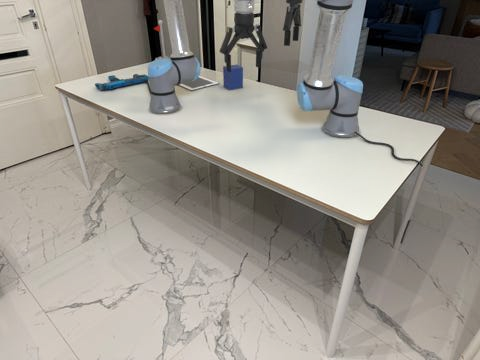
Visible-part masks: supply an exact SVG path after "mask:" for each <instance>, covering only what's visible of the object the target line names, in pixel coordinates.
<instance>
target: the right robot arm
mask: <svg viewBox="0 0 480 360" xmlns="http://www.w3.org/2000/svg"><path fill="white" fill-rule="evenodd" d="M285 3H286V4H289V6H286V12H285V16H284V18H285V19H284V22H283V27H282V31H284V35H283V36H284V38H283V46H286V47H290V46H291V37H292V41H293V42H299V36H300V35H299V34H300V27H302V18H301V4H303V0H285ZM353 3H354V0H316V6H317V7H318V8H319V15H318V21H317V25H316V31H315V37H314V42H313V47H312V53H311V58H310V64H309V69H308V72H307V73H306V74H305V75H304V76H303V80H302V81H300V82H298V83H297V85H296V99H297V102H298V106H299V108H300V109H301V111H303V112H317V111H319V112H320V111H329V112H328V115H327V117H326V120H325V121H324V123H323V126H322V130H323V132H324V133H325V134H326V135H329V136H332V137H335V138H339V139H341V138H342V139H349V138H354V137H356V136H358V137H360V138H361V139H362V140H364V141H365V142H367V143H369V144H373V145H381V146H387V147H388V148H390V149H391V155H392V157H393V158H394V159H396V160H399V161H405V162H406V161H407V162H408V161H409V162H415V163H416V164H418V165H419V166H420V167H424V164H422V162H421V161H420V160H418V159H415V158H403V157H399V156H397V155H395V154H396V153H395V149H394V147H393V145H391V144H390V143H385V142H380V141H379V142H378V141H373V140H369V139H367V138H365V137H364V136H363V135H362V134H360V133H359V132H360V125H359V118H358V117H359V116H358V114H359V111H360V110H359V109H360V105H361V100H362V95H363V90H364V83H363V81H362V80H360V79H359V78H356V77H353V76H349V75H340V74H339V75H336V76H335V77H334V78H333V77H332V72H333V68H334V63H335V59H336V56H337V50H338V47H339V43H340V37H341V34H342V30H343V25H344V22H345V17H346V14H347V12H348V11H350V10H351V9H352V7H353ZM293 25H294V26H293ZM292 26H293V29H292ZM291 29H292V30H291ZM291 34H292V36H291ZM410 223H411V219H408V220H407V223H406V225H405V227H404V231H403V233H402V236H401V240H400V244H402V245H403V242H404V239H405V236H406V233H407V231H408V228H409V225H410Z"/></svg>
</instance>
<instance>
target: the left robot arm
mask: <svg viewBox="0 0 480 360" xmlns="http://www.w3.org/2000/svg"><path fill="white" fill-rule="evenodd" d="M233 1H234V2H233V3H234V5H233V7H234V8H233V10H234V14H233V18H234V19H233V20H234V26H233V27H231V26H227V27H226V33H225V36H224V37H223V41H222V43H221V46H220V48H219V53H220V54H222V55H223V57H224V61H223V62H224V63H225V64H226V65H225V66H227V71H228V72H231V65H232V54H231V52H232V51H233V49H234V48H235V46H236V45H237V43H238V42H239V41H240V40H244V39H246V40H247V39H250V41H251V42H252V43H253V45H254V46H255V47H256V49H257V50H256V51H255V67H256V68H258V69H261V66H262V65H261V63H262V62H261V61H262V59H263V53H264V51H265V50H267V49H268V45H267V43H266V40H265V38H264V34H263V32H262V26H261V25H260V24H255V23H254V22H255V14H254V13H255V0H233ZM183 3H184V2H183V0H163V6H164V12H165V17H166V24H167V29H168V35H169V41H170V45H171V52H172V53H171V54H170V56H169V58H170V59H171V60H170V59H158V60H155V59H154V60H152V61H151V62H149V63H148V65H147V76H149V80H147V81H146V82H145V83H146V84H147V87H148V91H149V93H150V101H149V111H150V112H151V113H153V114H157V115H169V114H173V113H176V112H178V111H179V110H181V102H180V100H179V98H178V96H177V94H176V86H180V84H183V83H187V82H191V81H194V80H196V79H197V78H198V77H199V76H201V75H200V74H201V63H200V61H199V59H198V58H197V57H195V54H194V52H192V51H191V49H190V43H189V35H188V29H187V23H186V17H185V10H184V4H183ZM254 24H255V25H254ZM254 32H255V34H256V36H257V38H258V39H257V38H256V36H255V35H254ZM233 34H234V35H233ZM232 35H233V36H232ZM231 38H232V39H231Z"/></svg>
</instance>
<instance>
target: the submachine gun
mask: <svg viewBox="0 0 480 360" xmlns="http://www.w3.org/2000/svg"><path fill="white" fill-rule="evenodd" d="M107 77H108V80H109V82H103V83H100V82H96V83H94V86H95V88H97V89H98V90H100V91H107V90H113V91H114V90H115V89H116V88H120V87H125V86H129V85H134V84H138V83H139V84H140V83H147V82H146V81H149V76H148V74H138V73H134V74H133V75H132V77H129V78H121V79H120V78H118V77H117V76H116V75H113V74H112V75H108V76H107Z"/></svg>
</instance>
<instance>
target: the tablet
mask: <svg viewBox="0 0 480 360" xmlns="http://www.w3.org/2000/svg"><path fill="white" fill-rule="evenodd" d="M219 84H220V82H217V81H215V80H212V79H209V78H207V77H204V76H201V75H199V77H198V78H197V79H196V80H194V81H191V82H187V83H183V84H180V85H179V86H180V87H181V88H184V89H186V90H188V91H197V90H200V89H205V88H208V87H211V86H212V87H213V86H215V85H219Z"/></svg>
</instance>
